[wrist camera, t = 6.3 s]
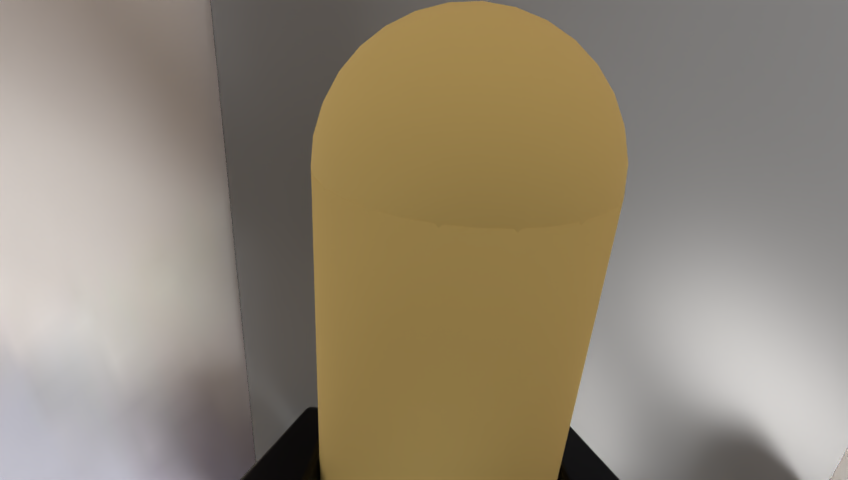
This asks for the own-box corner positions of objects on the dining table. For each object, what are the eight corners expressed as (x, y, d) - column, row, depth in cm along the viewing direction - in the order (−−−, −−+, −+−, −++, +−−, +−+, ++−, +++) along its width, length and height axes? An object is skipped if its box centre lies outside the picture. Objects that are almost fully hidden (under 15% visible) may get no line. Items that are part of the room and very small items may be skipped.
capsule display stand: (1087, -66, 9) (1457, -99, 6) (759, 568, 16) (843, 712, 13) (210, -130, 9) (83, -205, 6) (271, 545, 16) (231, 686, 13)
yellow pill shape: (336, -10, 7) (258, -14, 4) (602, 8, 7) (747, 19, 4) (340, 608, 13) (310, 816, 10) (488, 615, 13) (508, 824, 10)
